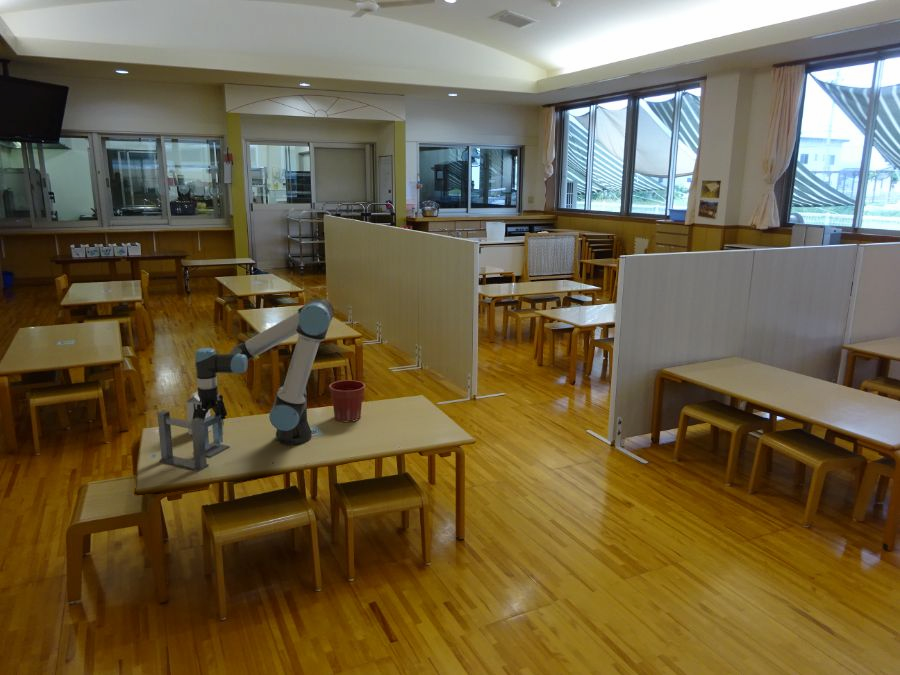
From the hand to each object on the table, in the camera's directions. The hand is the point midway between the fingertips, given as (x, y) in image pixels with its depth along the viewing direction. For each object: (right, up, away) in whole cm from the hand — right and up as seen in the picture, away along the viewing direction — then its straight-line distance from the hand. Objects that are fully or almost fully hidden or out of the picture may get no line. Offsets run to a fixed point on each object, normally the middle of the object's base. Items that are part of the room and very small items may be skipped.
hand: (211, 438), depth 263 cm
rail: (-6, -8, -12) cm, 15 cm away
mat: (0, -5, +1) cm, 5 cm away
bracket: (0, -3, +1) cm, 3 cm away
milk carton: (-12, -1, +19) cm, 23 cm away
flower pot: (+49, +3, +41) cm, 64 cm away
